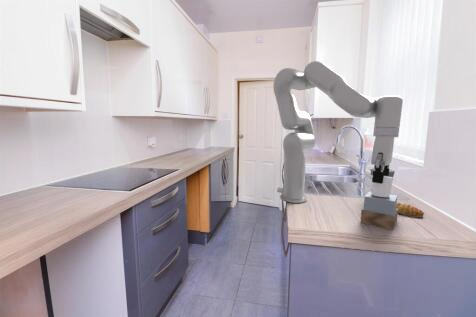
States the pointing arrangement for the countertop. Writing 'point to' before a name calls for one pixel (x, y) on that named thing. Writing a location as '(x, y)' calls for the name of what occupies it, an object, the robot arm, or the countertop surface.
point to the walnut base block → (379, 219)
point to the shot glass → (382, 187)
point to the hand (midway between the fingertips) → (380, 180)
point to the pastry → (409, 210)
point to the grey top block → (380, 204)
